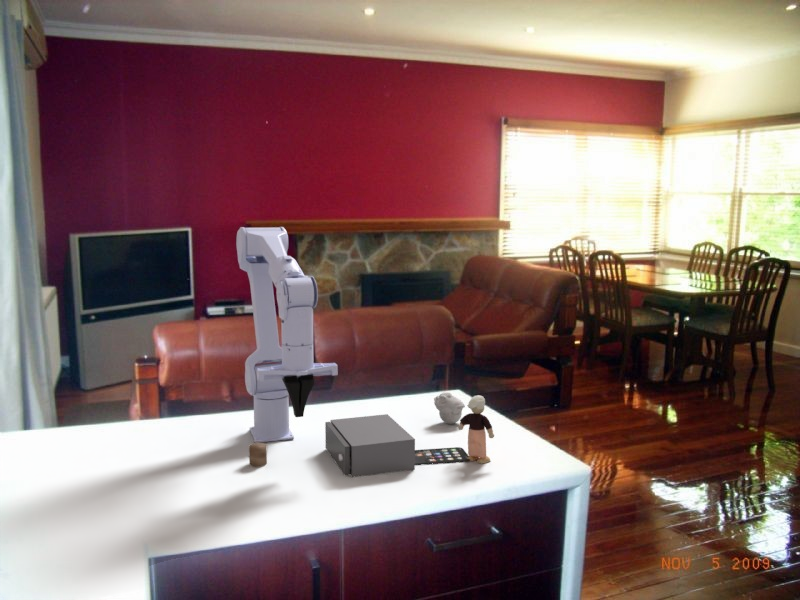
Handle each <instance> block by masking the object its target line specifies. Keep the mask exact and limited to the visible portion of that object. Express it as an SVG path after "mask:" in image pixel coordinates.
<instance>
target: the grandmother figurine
mask: <svg viewBox="0 0 800 600" xmlns="http://www.w3.org/2000/svg"><path fill="white" fill-rule="evenodd" d="M485 404H486V399H485V398H484V396H482V395H479V394H478V395H473V396H472V397H471V398H470V400H469V401H468V403H467V408H468V409H470V411H471V412H472V413H471V412H470V413H468V414H465V415H464V416H463V417H461V418H460V419H459V425H458V427H457V429H458V430H459V431H462V430H464V427H465V426H468V425H469V426H468V434H467V452H468V453H467V454H468V459H470V462H475V461H476V462H477V463H478V464H486V463H490V462H491V458H490V457H489V456H488V455H487V436H486V435H487V434H488V438H490V439H494V438H495V434H494V430H493V425H492V424H491V422H490V420H489V419H488V416H485V415H483V414H482V413H483V412H484V411H485V407H486V406H485ZM486 432H487V434H486Z"/></svg>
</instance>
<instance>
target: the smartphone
mask: <svg viewBox="0 0 800 600" xmlns="http://www.w3.org/2000/svg"><path fill="white" fill-rule="evenodd" d="M468 456H469V454H468V453H467V452H466V450H465V449H464V448H463V447H460V446H459V447H442V448H425V449H415V466H422V465H421V464H427V465H439V464H438V463H443V464H457V463H456V462H459V463H469V462H471V461H470V459H468ZM432 463H433V464H432Z"/></svg>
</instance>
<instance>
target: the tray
mask: <svg viewBox="0 0 800 600" xmlns="http://www.w3.org/2000/svg"><path fill="white" fill-rule="evenodd" d="M324 425H325V426H324V427H325V450H326V452H328V454H329V455H330V457H331V458H332V459H333V461H334V462H335V464H336V465H337V467H338V468H339V469H340V471H341V472H342V474H343V476H345V477H346V476H351V475H350V469H351V456H350V446H349V445H348V444H347V442H346V441H345V440H344V439H343V437H342V436H341V435H340V434H339V432H338V431H337V430H336V429H335V427H334V426H333V425H332V424H331V421H325V424H324Z"/></svg>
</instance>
